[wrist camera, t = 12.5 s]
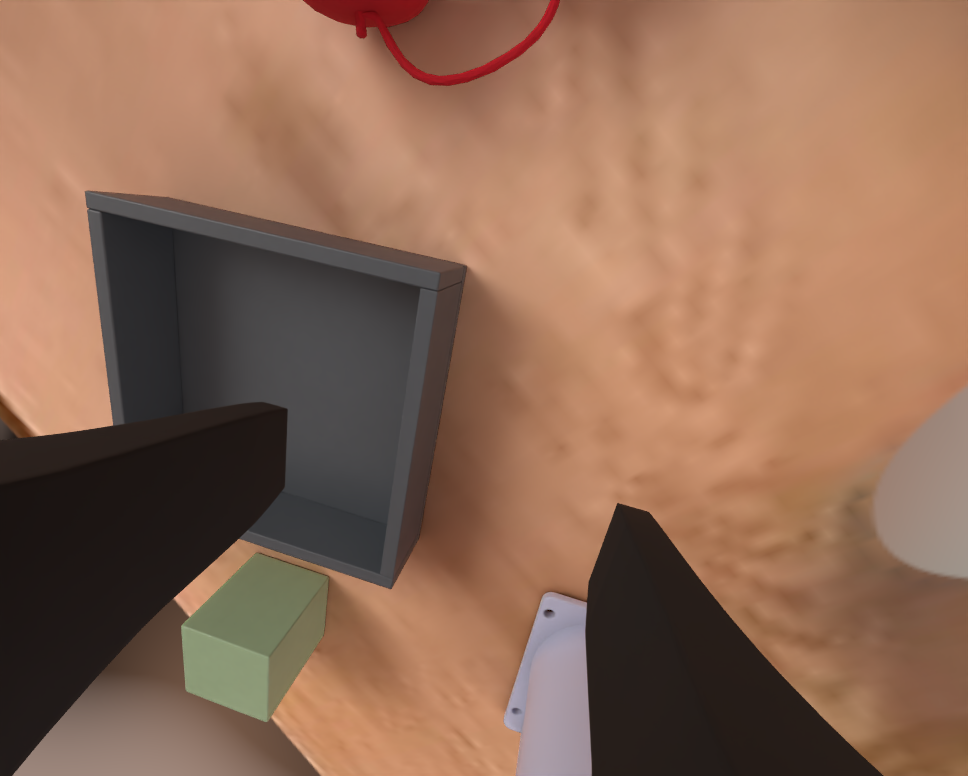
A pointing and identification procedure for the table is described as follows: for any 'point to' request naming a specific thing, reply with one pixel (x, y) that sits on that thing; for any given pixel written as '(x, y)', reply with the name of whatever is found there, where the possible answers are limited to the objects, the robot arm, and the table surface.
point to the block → (255, 635)
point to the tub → (286, 360)
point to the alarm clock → (396, 3)
